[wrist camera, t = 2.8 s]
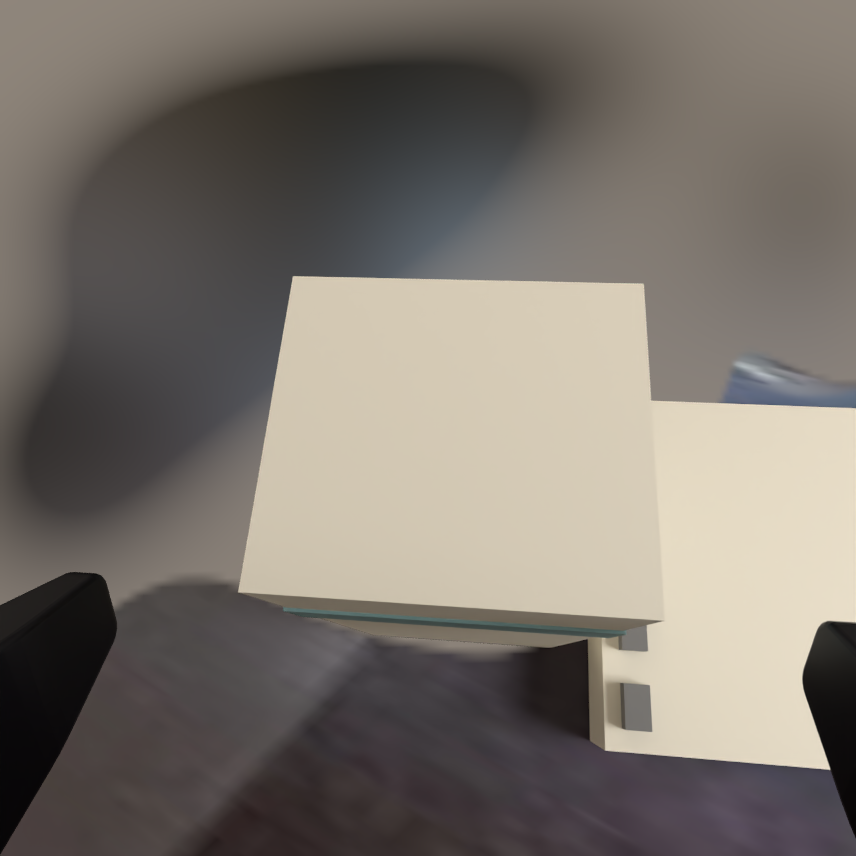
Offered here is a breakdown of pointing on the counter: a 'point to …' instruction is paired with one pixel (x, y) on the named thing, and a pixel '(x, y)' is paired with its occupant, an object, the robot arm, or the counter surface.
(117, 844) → the counter surface
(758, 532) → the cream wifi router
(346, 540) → the cream box
